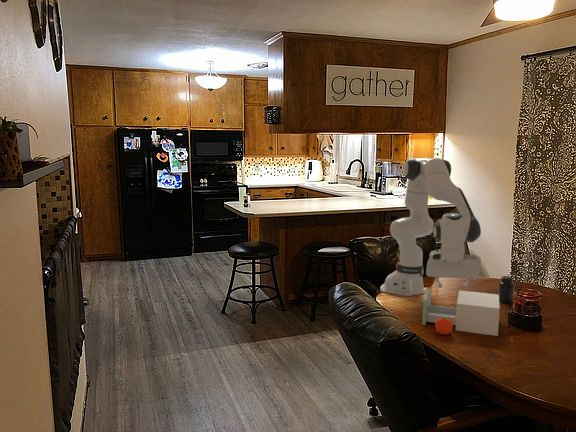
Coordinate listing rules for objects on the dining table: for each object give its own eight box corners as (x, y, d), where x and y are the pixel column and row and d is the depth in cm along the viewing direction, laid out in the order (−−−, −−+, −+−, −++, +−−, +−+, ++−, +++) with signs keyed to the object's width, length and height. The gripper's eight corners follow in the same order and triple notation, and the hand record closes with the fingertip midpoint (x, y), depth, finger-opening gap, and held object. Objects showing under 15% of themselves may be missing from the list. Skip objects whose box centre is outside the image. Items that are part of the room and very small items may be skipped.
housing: (455, 330, 194) (456, 303, 192) (458, 315, 210) (459, 290, 208) (497, 336, 187) (499, 308, 186) (497, 319, 204) (498, 294, 202)
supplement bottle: (510, 299, 230) (511, 275, 228) (515, 303, 223) (517, 279, 221) (495, 298, 230) (497, 275, 228) (500, 303, 224) (502, 279, 222)
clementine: (439, 328, 196) (440, 312, 195) (456, 332, 192) (457, 315, 190) (432, 334, 190) (432, 317, 189) (448, 339, 185) (449, 321, 184)
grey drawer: (418, 324, 199) (419, 299, 198) (423, 309, 216) (424, 287, 214) (458, 329, 193) (459, 304, 191) (460, 314, 210) (461, 291, 208)
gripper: (480, 253, 185) (480, 287, 187) (426, 251, 192) (426, 284, 194) (481, 257, 180) (480, 292, 182) (425, 255, 187) (425, 288, 189)
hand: (452, 287), depth 188 cm, fingers open, 8 cm apart
